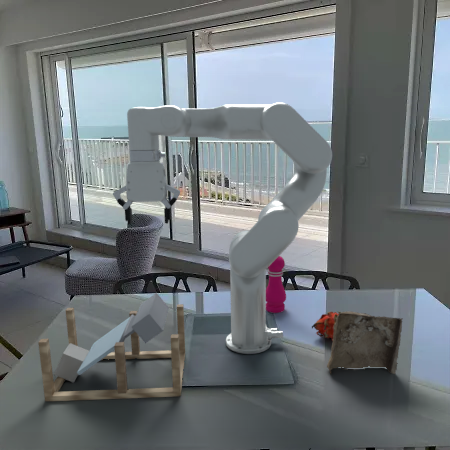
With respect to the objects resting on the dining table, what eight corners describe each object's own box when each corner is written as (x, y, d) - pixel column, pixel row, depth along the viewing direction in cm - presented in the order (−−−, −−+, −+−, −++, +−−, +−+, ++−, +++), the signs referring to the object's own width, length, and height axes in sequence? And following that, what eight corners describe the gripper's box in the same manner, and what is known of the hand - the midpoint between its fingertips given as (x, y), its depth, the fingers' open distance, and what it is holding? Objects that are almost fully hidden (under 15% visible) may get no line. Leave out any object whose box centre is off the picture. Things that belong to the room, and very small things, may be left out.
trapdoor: (169, 306, 105) (156, 291, 104) (162, 332, 91) (148, 315, 90) (104, 353, 107) (91, 339, 106) (87, 386, 93) (73, 369, 92)
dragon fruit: (358, 346, 116) (314, 349, 118) (352, 319, 122) (311, 322, 124) (358, 331, 110) (312, 335, 112) (352, 303, 115) (309, 308, 118)
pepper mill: (271, 303, 143) (271, 247, 139) (289, 308, 139) (290, 250, 135) (260, 310, 137) (260, 252, 133) (279, 315, 133) (280, 255, 129)
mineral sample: (328, 375, 99) (330, 315, 96) (325, 366, 103) (327, 308, 100) (400, 375, 98) (404, 315, 95) (394, 366, 102) (398, 308, 99)
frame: (185, 354, 110) (183, 304, 107) (180, 396, 92) (178, 337, 89) (72, 358, 109) (67, 307, 106) (45, 401, 91) (38, 342, 88)
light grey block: (70, 343, 101) (61, 363, 102) (62, 353, 96) (53, 374, 97) (89, 350, 102) (80, 371, 103) (83, 361, 97) (73, 382, 98)
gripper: (179, 156, 110) (182, 219, 114) (114, 157, 110) (118, 221, 113) (177, 157, 103) (180, 225, 106) (107, 158, 102) (112, 226, 106)
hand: (148, 223), depth 110 cm, fingers open, 9 cm apart
